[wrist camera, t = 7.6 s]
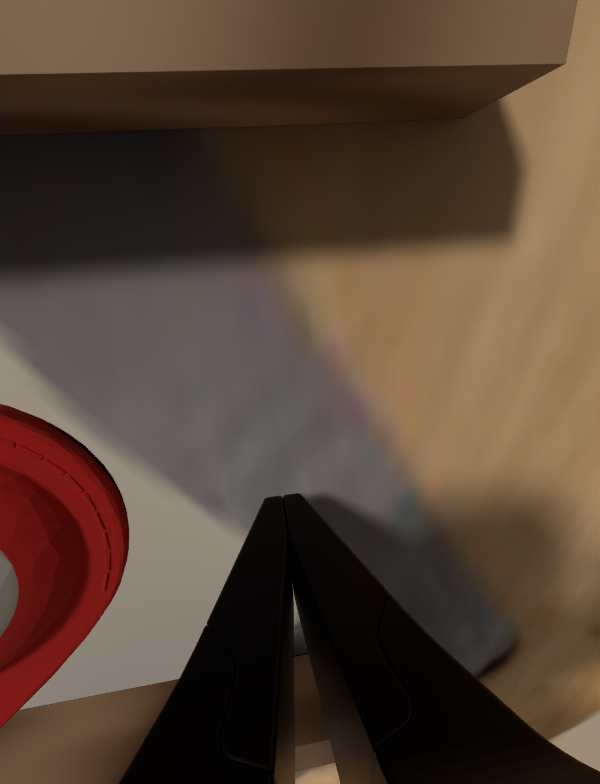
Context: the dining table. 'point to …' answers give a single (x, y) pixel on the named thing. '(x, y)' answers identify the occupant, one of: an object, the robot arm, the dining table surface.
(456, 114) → the walnut channel
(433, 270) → the dining table surface
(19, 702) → the tracker holder
